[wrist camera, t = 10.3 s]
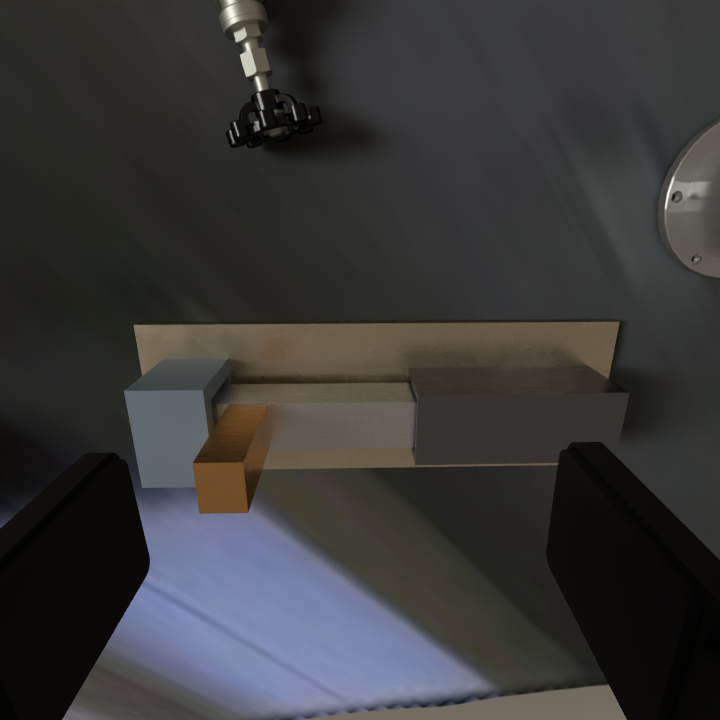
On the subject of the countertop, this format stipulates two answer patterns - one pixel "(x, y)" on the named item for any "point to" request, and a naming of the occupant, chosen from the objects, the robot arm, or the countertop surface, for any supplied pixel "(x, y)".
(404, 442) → the sliding bar with handle
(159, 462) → the socket block
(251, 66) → the valve
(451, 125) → the countertop surface
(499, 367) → the stand
